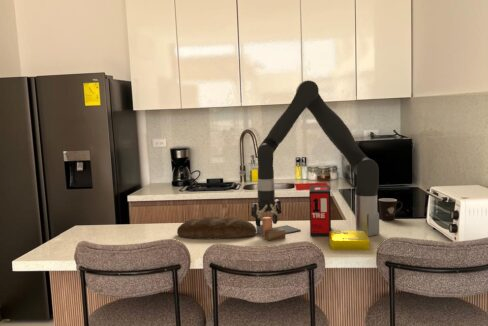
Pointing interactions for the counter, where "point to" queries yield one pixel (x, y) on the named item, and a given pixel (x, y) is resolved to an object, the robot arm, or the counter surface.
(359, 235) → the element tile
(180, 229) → the bread
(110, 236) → the counter surface
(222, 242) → the counter surface
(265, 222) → the terracotta cylinder
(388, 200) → the coffee mug
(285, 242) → the counter surface
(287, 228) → the charcoal mat
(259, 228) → the blue-grey cube
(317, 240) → the counter surface
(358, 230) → the robot arm
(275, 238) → the walnut block
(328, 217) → the cleaning product box
